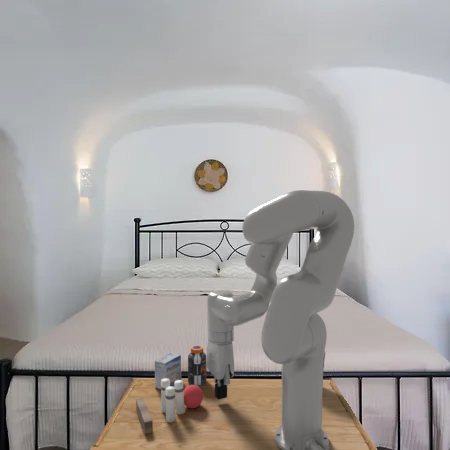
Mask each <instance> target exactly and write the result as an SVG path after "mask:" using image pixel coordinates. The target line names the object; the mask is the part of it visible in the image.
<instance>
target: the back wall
mask: <svg viewBox="0 0 450 450" xmlns="http://www.w3.org/2000/svg"><path fill="white" fill-rule="evenodd" d="M135 403H136V404H135V406H136V407H135V410H136V413H137V416H138V419H139V422H140V424H141V427H142V430H143V433H144V435H147V434H150V433H153V432H154V431H153V430H154V429H153V428H154V427H153V424H154V423H153V422H154V421H153V418H152V416H151V414H150V411H149V408H148V406H147V403H146V401H145V399H144V397H142V398H141V397H140V398H137V399H135Z"/></svg>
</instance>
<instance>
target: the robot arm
mask: <svg viewBox="0 0 450 450" xmlns="http://www.w3.org/2000/svg"><path fill="white" fill-rule="evenodd" d="M353 215H354V214H353V213H352V211H351V209H350V206H349V205H348V204H347V202H345V200H344V199H342V197H340V196H338V195H337V194H334V193H332V192H329V191H325V190H309V189H308V190H306V189H304V190H303V189H302V190H301V189H300V190H293V191H289V192H287V193H284V194H282V195H279V196H278V197H276V198H274V199H272V200H270V201H268V202H265V203H263V204H261V205H259V206H257V207H255V208H254V209H252V210H250V212H248V214H247V215H246V216H245V218H244V220H243V223H242V229H241V230H242V234H243V236H244V239H245V240H246V241H247V242H248V243H249V244H250V247H249V249H248V251H247V253H246V255H245V259H244V262H245V265H246V267H247V268H248V269H249V270H250V271H251V272H253V273H255V274H256V276H255V279H254V282H253V284H252V287H251V289H250V291H249V292H245V293H242V294H239V295H235V296H234V294H233V293H232V292H231V291H228V290H213V291H211V292H209V293H208V295H207V298H206V299H207V301H206V303H207V347H206V349H207V350H206V353H207V354H206V369H207V370H208V371H209V373H210V374H211V375H212V376H213V380H214V398H216V400H217V401H218V400H219V401H220V400H222V399H227V397H228V385H231V379H232V378H233V377H234V375H235V374H234V373H235V359H234V358H235V357H234V347H233V346H234V344H233V342H234V341H235V327H238V326H242V325H244V324H247V323H249V322H251V321H255V320H257V319H260V318H262V317H263V316H264V315H265V314H266V315H265V319H264V322H263V326H262V329H261V336H260V337H261V338H260V339H261V340H260V341H261V346H262V349H263V352H264V354H265V357H267V358H268V359H269V360H270V361H272V362H273V363H275V364H278V365H282V366H281V425H280V426H279V427H277V429H276V431H275V433H274V440H275V441H274V442H275V443H276V445H277V446H278V448H280V450H330V449H331V447H330V442H329V440H330V439H329V436H328V435H327V433H326V432H325V431H324V430H323V388H322V381H323V382H324V380H323V379H324V378H323V377H324V369H323V358H324V351H325V352H326V345H327V337H328V336H327V332H328V331H327V326H326V323H325V321H324V319H323V318H322V317H321V315H320V314H318V313H320V312H322V311H324V310H326V309H327V308H328V307H330V306H331V305H332V303H333V301H334V298H335V295H336V293H337V288H338V286H339V282H340V279H341V277H342V273H343V270H344V267H345V263H346V260H347V256H348V254H349V251H350V248H351V245H352V241H353V240H354V239H353V238H354V234H355V219H354V216H353ZM315 229H316V233H315V236H314V237H313V239H312V240H311V241H310V243H309V245H308V248H307V250H306V254H305V258H304V261H303V264H302V266H301V269H300V270H299V271H298V272H296V273H292V274H288V275H287V276H285V277H283V278H281V280H279V282H278V277H277V270H278V267H279V265H280V264H281V261H282V258H283V257H284V254H285V253H286V250H287V248H288V246H289V244H290V242H291V239H292V237H293V235H294V233H297V232H298V233H299V232H301V231H307V230H315Z"/></svg>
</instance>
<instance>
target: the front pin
mask: <svg viewBox="0 0 450 450" xmlns="http://www.w3.org/2000/svg"><path fill="white" fill-rule="evenodd" d="M173 387H174V388H175V415H184V414H185V413H186V412H185V411H186V409H185V407H186V406H185V405H184V389H185V387H184V381H183V380H182V379H181V380H177V381H175V382H174V386H173Z"/></svg>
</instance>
